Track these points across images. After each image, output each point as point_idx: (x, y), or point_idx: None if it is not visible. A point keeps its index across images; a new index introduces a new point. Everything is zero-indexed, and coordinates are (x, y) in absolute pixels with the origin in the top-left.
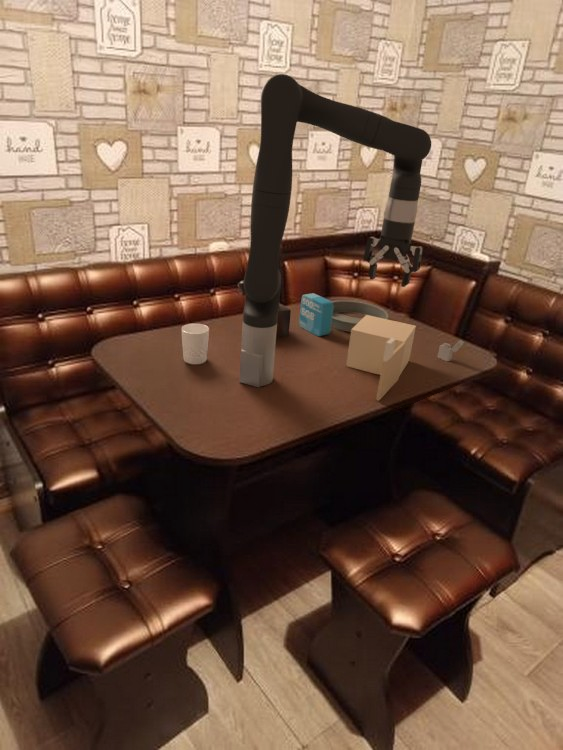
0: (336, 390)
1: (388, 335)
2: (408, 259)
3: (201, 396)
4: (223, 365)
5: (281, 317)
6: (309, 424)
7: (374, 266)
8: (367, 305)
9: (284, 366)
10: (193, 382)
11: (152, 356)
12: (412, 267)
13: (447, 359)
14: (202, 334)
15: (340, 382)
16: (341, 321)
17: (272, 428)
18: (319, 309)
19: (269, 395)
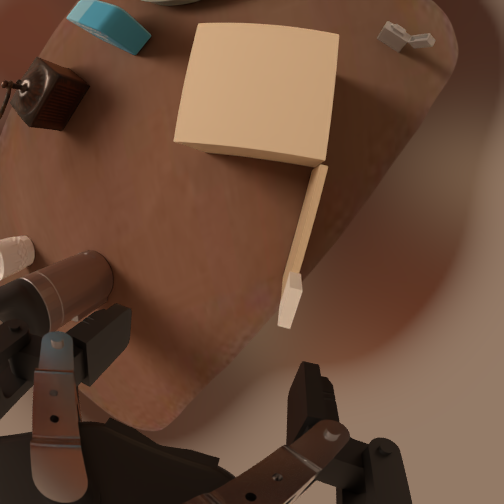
0: (209, 264)
1: (276, 132)
2: (306, 484)
3: None
4: (50, 251)
5: (54, 95)
6: (201, 372)
7: (91, 381)
8: None
9: (109, 211)
10: None
11: None
12: (338, 485)
13: (398, 49)
14: (5, 273)
15: (208, 229)
16: (163, 1)
17: (165, 387)
18: (102, 34)
19: None
